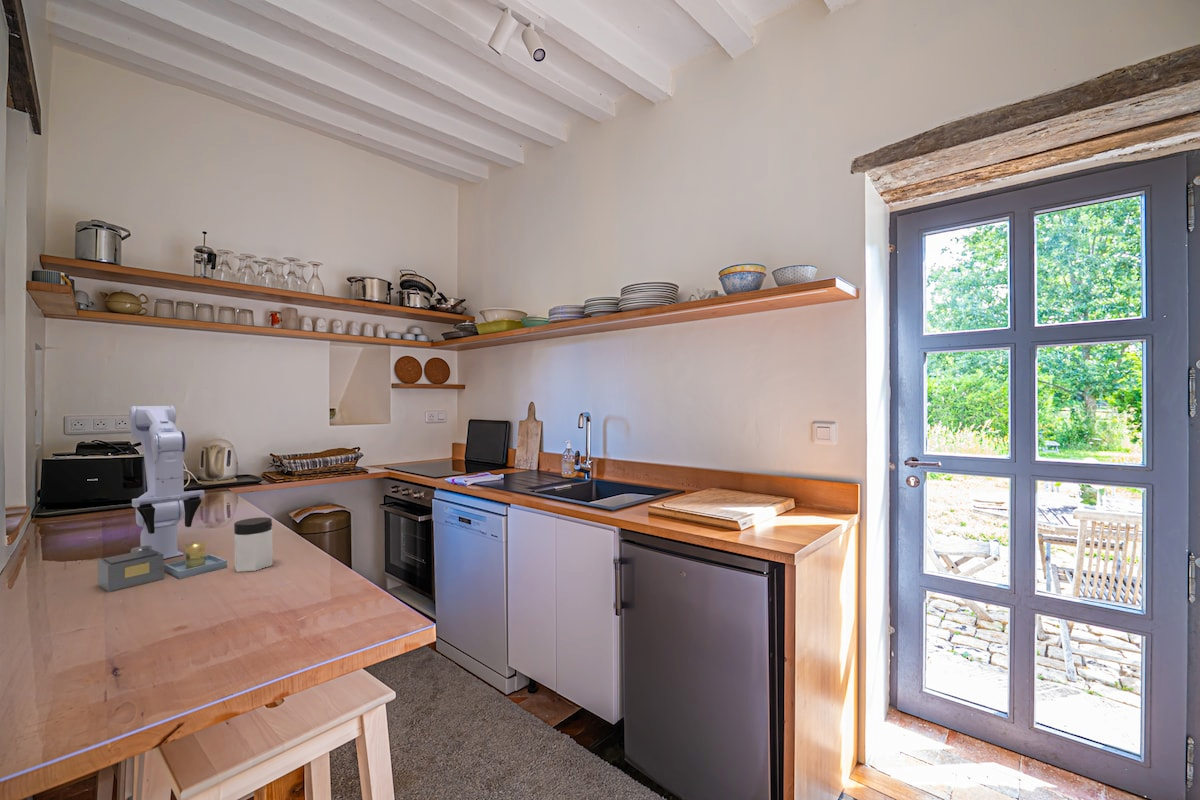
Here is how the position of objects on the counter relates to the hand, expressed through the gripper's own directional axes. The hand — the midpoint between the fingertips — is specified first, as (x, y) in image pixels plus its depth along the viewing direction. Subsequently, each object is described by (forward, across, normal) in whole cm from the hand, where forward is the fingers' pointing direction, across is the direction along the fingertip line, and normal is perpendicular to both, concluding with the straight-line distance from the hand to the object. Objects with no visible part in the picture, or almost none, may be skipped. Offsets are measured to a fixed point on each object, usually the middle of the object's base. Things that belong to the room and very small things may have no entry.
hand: (170, 529), depth 132 cm
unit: (+10, -9, -5) cm, 14 cm away
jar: (+10, +12, -18) cm, 24 cm away
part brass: (+9, +3, -7) cm, 12 cm away
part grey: (+10, -5, +3) cm, 11 cm away
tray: (+10, +3, -8) cm, 13 cm away
